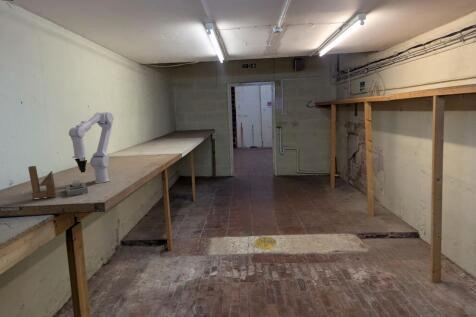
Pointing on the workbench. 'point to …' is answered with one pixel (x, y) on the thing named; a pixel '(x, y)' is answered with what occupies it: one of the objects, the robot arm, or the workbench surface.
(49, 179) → the wooden stand
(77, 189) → the socket plate
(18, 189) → the workbench surface
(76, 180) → the block
